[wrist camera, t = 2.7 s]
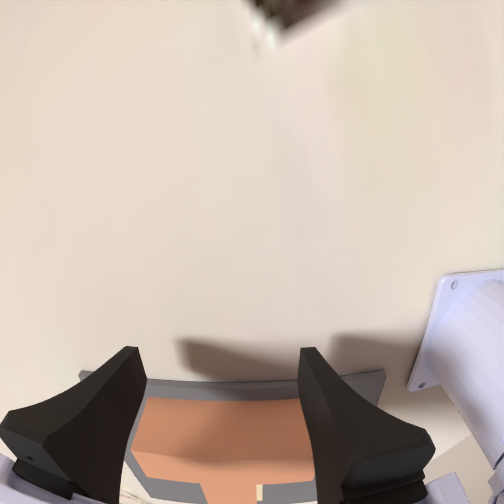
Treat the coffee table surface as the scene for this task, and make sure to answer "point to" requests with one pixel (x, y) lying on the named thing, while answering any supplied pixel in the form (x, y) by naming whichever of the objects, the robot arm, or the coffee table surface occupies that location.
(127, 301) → the coffee table surface
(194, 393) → the charcoal mat
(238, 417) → the rust T block
